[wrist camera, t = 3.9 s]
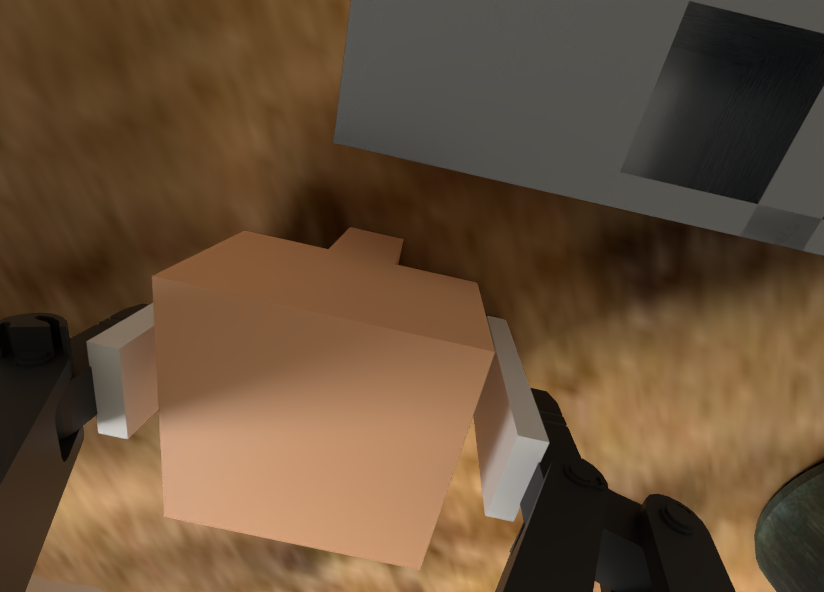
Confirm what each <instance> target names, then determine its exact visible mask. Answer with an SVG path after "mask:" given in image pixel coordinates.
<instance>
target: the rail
mask: <svg viewBox="0 0 824 592" xmlns="http://www.w3.org/2000/svg"><path fill="white" fill-rule="evenodd" d="M333 143H337V144H341V145H345V146H350V147H354V148H358V149H363V150H367V151H372V152H376V153H380V154H385V155H389V156H393V157H398V158H402V159H406V160H411V161H415V162H419V163H424V164H428V165H432V166H437V167H441V168H445V169H450V170H454V171H458V172H463V173H467V174H471V175H476V176H480V177H484V178H489V179H493V180H497V181H502V182H506V183H510V184H515V185H519V186H523V187H528V188H532V189H536V190H541V191H545V192H549V193H554V194H558V195H562V196H567V197H571V198H575V199H580V200H584V201H588V202H593V203H597V204H601V205H606V206H610V207H614V208H619V209H623V210H627V211H632V212H636V213H640V214H645V215H649V216H653V217H658V218H662V219H666V220H671V221H675V222H679V223H684V224H688V225H692V226H697V227H701V228H705V229H710V230H714V231H719V232H723V233H727V234H732V235H736V236H740V237H745V238H749V239H753V240H758V241H762V242H766V243H771V244H775V245H779V246H784V247H788V248H792V249H797V250H801V251H805V252H810V253H814V254H818V255H823V256H824V0H351V5H350V13H349V21H348V29H347V37H346V45H345V53H344V61H343V69H342V77H341V85H340V93H339V101H338V109H337V117H336V125H335V133H334V141H333Z"/></svg>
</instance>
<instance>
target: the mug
mask: <svg viewBox="0 0 824 592" xmlns="http://www.w3.org/2000/svg"><path fill="white" fill-rule="evenodd" d="M754 536H755V551H756V559H757V562H758V565H759V568H760V569H761V571H762V572H763V574H764V575H765V577H766V578H767V579H768V581H769V582H770V584H771V585H772V586H773V588H774V589H775V590H776V592H824V463H822V464H820V465H818V466H816V467H814V468H812V469H810V470H808V471H807V472H805V473H803V474H802V475H800V476H799V477H797V478H795V479H794V480H793V481H791V482H790V483H789V484H788V485H786V486H785V487H784V488H783V489H781V490H780V491H779V492H778V493H777V494H776V495H775V496H774V497H773V498H772V499H771V500H770V502H769V503H768V504H767V506H766V507H765V509H764V510H763V512H762V513H761V515H760V518H759V520H758V522H757V524H756V530H755V535H754Z"/></svg>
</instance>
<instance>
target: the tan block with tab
mask: <svg viewBox="0 0 824 592" xmlns="http://www.w3.org/2000/svg"><path fill="white" fill-rule="evenodd" d="M403 240H404V239H401V238H396V237H392V236H387V235H383V234H379V233H374V232H370V231H365V230H361V229H357V228H352V227H350V228H349V229H348V230H347V231H346V232H345V233H344V234H343V235H342V236H341V237H340V238H339V239H338V240H337V241H336V242H335V243H334V244H333V245H332V246H331V247H330V248H329V249H325V248H321V247H316V246H312V245H307V244H303V243H298V242H294V241H289V240H285V239H281V238H276V237H272V236H267V235H263V234H258V233H254V232H249V231H243V232H240V233H238V234H236V235H234V236H232V237H230V238H228V239H226V240H224V241H222V242H220V243H218V244H216V245H214V246H212V247H210V248H208V249H206V250H204V251H202V252H200V253H198V254H196V255H194V256H191V257H189V258H187V259H185V260H183V261H181V262H179V263H177V264H175V265H173V266H171V267H169V268H167V269H165V270H163V271H161V272H159V273H157V274H155V275H153V276H152V290H153V309H154V329H155V348H156V367H157V387H158V406H159V426H160V445H161V464H162V484H163V503H164V517H168V518H172V519H177V520H182V521H187V522H192V523H196V524H201V525H206V526H211V527H216V528H220V529H225V530H230V531H235V532H239V533H244V534H249V535H254V536H259V537H263V538H268V539H273V540H278V541H283V542H287V543H292V544H297V545H302V546H307V547H311V548H316V549H321V550H326V551H331V552H335V553H340V554H345V555H350V556H354V557H359V558H364V559H369V560H374V561H378V562H383V563H388V564H393V565H398V566H402V567H407V568H412V569H417V570H420V568H421V566H422V563H423V560H424V557H425V554H426V551H427V548H428V545H429V542H430V539H431V536H432V534H433V531H434V528H435V525H436V522H437V519H438V516H439V513H440V510H441V507H442V505H443V502H444V499H445V496H446V493H447V490H448V487H449V484H450V481H451V478H452V475H453V473H454V470H455V467H456V464H457V461H458V458H459V455H460V452H461V449H462V446H463V444H464V441H465V438H466V435H467V432H468V429H469V426H470V423H471V420H472V417H473V415H474V412H475V409H476V406H477V403H478V400H479V397H480V394H481V391H482V388H483V385H484V383H485V380H486V377H487V374H488V371H489V368H490V365H491V362H492V359H493V356H494V354H495V350H494V346H493V342H492V338H491V334H490V330H489V326H488V322H487V318H486V314H485V310H484V307H483V303H482V299H481V295H480V291H479V287H478V283H476V282H472V281H467V280H463V279H459V278H454V277H450V276H445V275H441V274H436V273H432V272H427V271H423V270H418V269H414V268H410V267H405V266H401V265H398V264H399V259H400V254H401V249H402V245H403Z"/></svg>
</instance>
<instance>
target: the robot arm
mask: <svg viewBox="0 0 824 592" xmlns="http://www.w3.org/2000/svg"><path fill="white" fill-rule="evenodd" d="M487 322H488V326H489V330H490V334H491V338H492V342H493V346H494V350H495V354H494V356H493V359H492V362H491V365H490V368H489V371H488V374H487V377H486V380H485V383H484V385H483V388H482V391H481V394H480V397H479V400H478V403H477V406H476V409H475V412H474V415H473V416H474V424H475V433H476V442H477V450H478V459H479V468H480V476H481V485H482V494H483V502H484V511H485V516H489V517H494V518H498V519H503V520H508V521H512V522H514V519H515V517H516V515H517V513H518V511H519V508H520V506H521V510H522V515H523V520H524V522H523V524H522V527H521V529H520V531H519V533H518V535H517V537H516V539H515V542H514V544H513V546H512V548H511V550H510V556H509V558H508V561H507V563H506V566H505V568H504V571H503V573H502V576H501V578H500V581H499V583H498V586H497V589H496V591H495V592H593V588H594V581H596V582H598V583H600V587H601V592H735V589H734V587H733V585H732V583H731V580H730V578H729V576H728V574H727V571H726V569H725V567H724V564H723V562H722V560H721V558H720V555H719V553H718V551H717V549H716V546H715V544H714V542H713V540H712V537H711V535H710V533H709V531H708V530H707V528H706V526H705V525H704V523H703V522H702V521H701V520H700V519H699V518H698V517H697V516H696V515H695V513H694V512H693V511H691V510H690V509H689V508H688V507H686V506H685V505H683V504H682V503H680V502H678V501H676V500H674V499H672V498H670V497H668V496H664V495H660V494H652V495H649V496H648V497H647V498H646V499H645V501H644V502H643V504H642V505H641V504H639V503H637V502H634V501H632V500H630V499H628V498H626V497H624V496H622V495H619V494H617V493H615V492H613V491H612V490H610V489H608V483H607V482H606V480H605V478H604V477H603V475H602V474H601V473H600V472H599V471H598V470H597V469H596V468H595V467H594V466H593V465H592V464H590V463H589V462H587V461H586V460H584V459H582V458H581V456H580V454H579V452H578V450H577V447H576V445H575V443H574V440H573V438H572V436H571V433H570V431H569V429H568V427H566V425H567V424H566V422H565V420H564V417H562V413H561V410H560V408H559V406H558V403H557V402H556V401H555V400H554V399H553V398H552V397H551V396H550V395H549V393H548V392H547V391H542V390H538V389H533V388H530V386H529V383H528V380H527V377H526V375H525V372H524V369H523V366H522V363H521V360H520V358H519V355H518V352H517V349H516V346H515V343H514V341H513V338H512V335H511V332H510V329H509V326H508V324H507V321H506V320H505V319H500V318H496V317H492V316H487ZM158 409H159V406H158V387H157V367H156V348H155V329H154V309H153V303H152V304H150V305H147V304H140V305H137V306H133V307H130V308H126V309H124V310H122V311H120V312H118V313H116V314H115V315H113V316H111V317H110V319H108V318H107V319H105V320H104V321H102V322H100V323H99V324H98V325H95V326H93V327H91V328H89V329H87V330H85V331H84V332H82V333H80V334H78V335H76V336H75V337H73V338H71V339H69V332H68V325H67V321H66V320H65V319H64V318H63V317H61V316H58V315H54V314H47V313H31V314H22V315H17V316H12V317H8V318H5V319H2V320H0V592H25V591H26V588H27V586H28V583H29V580H30V578H31V575H32V572H33V570H34V567H35V565H36V562H37V559H38V557H39V554H40V552H41V549H42V546H43V544H44V541H45V539H46V536H47V533H48V531H49V528H50V526H51V523H52V520H53V518H54V515H55V513H56V510H57V507H58V505H59V502H60V500H61V497H62V494H63V492H64V489H65V487H66V484H67V481H68V479H69V476H70V474H71V471H72V468H73V466H74V463H75V460H76V458H77V455H78V453H79V450H80V447H81V445H82V442H83V439H84V432H83V425H84V424H86V423H87V422H88V421H89V420H91V419H92V418H93V417H94V416H95V415H96V419H97V427H98V433H100V434H105V435H110V436H115V437H119V438H124V439H129V438H130V437H131V436H132V435H133V434H134V433H135V432H136V431H137V430H138V429H139V428H140V427H141V426H142V425H143V424H144V423H145V422H146V421H147V420H148V419H149V418H150V417H151V416H152V415H153V414H154V413H155V412H156V411H157V410H158Z"/></svg>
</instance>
